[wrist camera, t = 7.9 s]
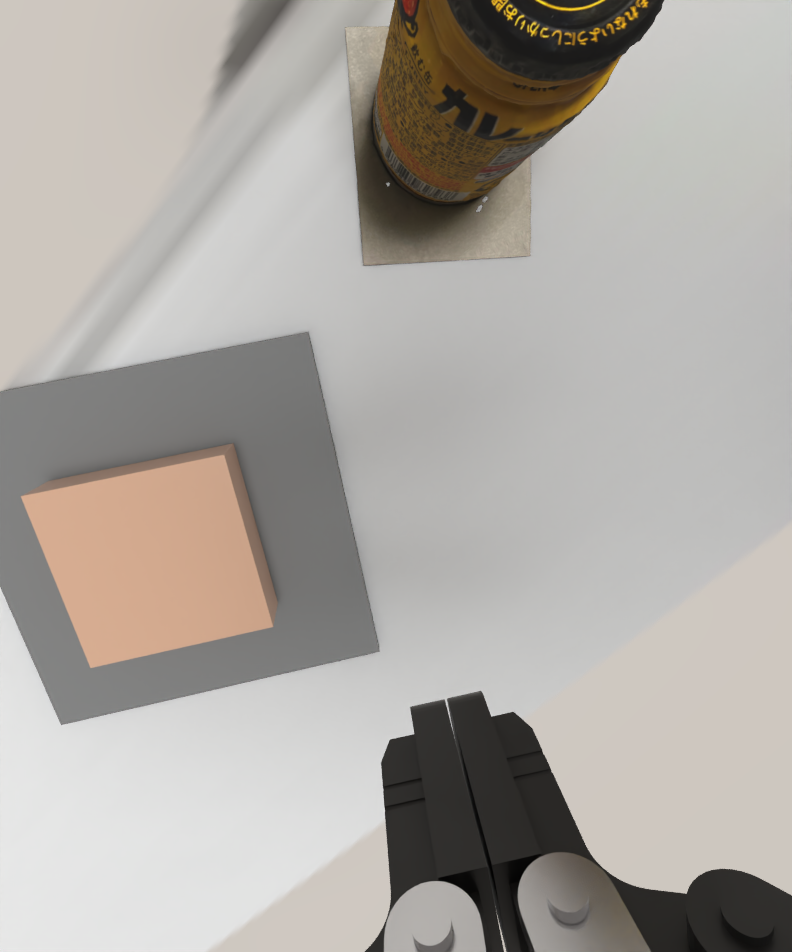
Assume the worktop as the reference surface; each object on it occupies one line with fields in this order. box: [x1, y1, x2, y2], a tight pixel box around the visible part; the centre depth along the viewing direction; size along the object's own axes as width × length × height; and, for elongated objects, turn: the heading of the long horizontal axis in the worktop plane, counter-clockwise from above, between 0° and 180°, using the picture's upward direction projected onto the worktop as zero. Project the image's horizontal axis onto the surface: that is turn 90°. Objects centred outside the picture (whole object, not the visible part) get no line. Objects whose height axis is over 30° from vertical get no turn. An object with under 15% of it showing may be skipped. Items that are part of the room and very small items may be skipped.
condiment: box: [345, 0, 664, 265], centre depth 16 cm, size 7×8×12 cm
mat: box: [0, 332, 379, 725], centre depth 25 cm, size 16×16×1 cm
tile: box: [21, 443, 278, 668], centre depth 24 cm, size 2×8×8 cm
